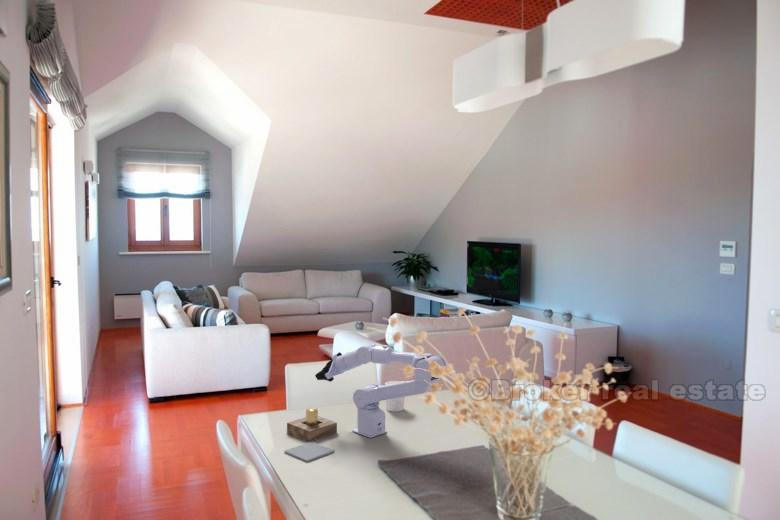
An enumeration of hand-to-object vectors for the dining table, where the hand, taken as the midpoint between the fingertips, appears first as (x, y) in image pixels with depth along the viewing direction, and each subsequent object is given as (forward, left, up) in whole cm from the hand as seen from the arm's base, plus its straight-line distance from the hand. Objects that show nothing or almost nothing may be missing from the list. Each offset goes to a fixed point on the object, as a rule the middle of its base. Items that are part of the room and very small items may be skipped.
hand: (322, 371), depth 219 cm
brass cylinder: (-8, +11, -18) cm, 22 cm away
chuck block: (-8, +11, -18) cm, 22 cm away
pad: (-21, +23, -18) cm, 36 cm away
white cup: (-11, -28, -18) cm, 35 cm away
